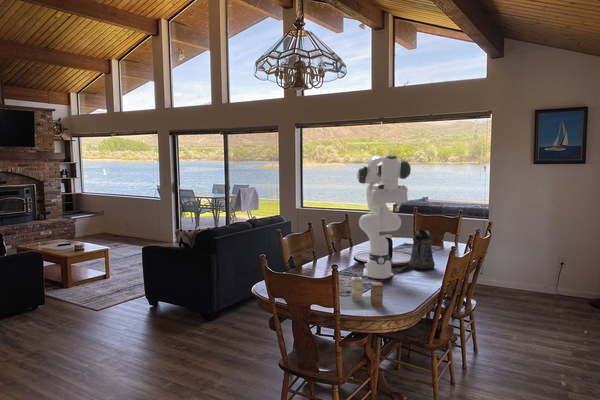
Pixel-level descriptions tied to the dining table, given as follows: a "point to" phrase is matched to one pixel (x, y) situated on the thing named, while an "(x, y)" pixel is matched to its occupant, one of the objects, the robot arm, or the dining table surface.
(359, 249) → the dining table surface
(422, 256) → the beer stein
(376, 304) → the walnut block
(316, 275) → the dining table surface
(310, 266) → the dining table surface
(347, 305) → the mat
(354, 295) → the maple block
